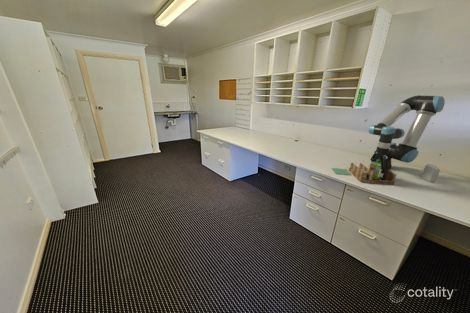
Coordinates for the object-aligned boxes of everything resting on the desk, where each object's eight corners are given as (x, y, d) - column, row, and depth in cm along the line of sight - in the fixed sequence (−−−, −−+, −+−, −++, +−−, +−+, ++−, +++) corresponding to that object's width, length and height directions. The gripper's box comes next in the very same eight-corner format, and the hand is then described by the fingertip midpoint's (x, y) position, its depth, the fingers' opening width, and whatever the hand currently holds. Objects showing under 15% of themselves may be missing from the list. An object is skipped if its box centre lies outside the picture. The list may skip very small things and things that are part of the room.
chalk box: (366, 176, 148) (371, 159, 143) (369, 173, 154) (374, 157, 149) (380, 180, 141) (385, 163, 136) (383, 177, 147) (388, 160, 142)
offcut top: (358, 172, 148) (359, 169, 147) (362, 172, 148) (363, 169, 147) (361, 175, 143) (362, 172, 142) (366, 176, 142) (367, 172, 141)
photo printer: (419, 176, 150) (425, 162, 146) (426, 177, 149) (431, 163, 145) (429, 182, 141) (435, 167, 137) (436, 183, 140) (442, 168, 136)
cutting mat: (331, 168, 164) (331, 168, 164) (345, 169, 162) (345, 169, 162) (336, 174, 153) (336, 173, 153) (351, 175, 151) (351, 174, 151)
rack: (348, 170, 160) (350, 162, 157) (377, 172, 157) (380, 164, 154) (360, 182, 140) (362, 172, 137) (393, 184, 136) (397, 175, 134)
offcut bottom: (357, 176, 150) (358, 172, 149) (361, 176, 149) (362, 172, 148) (361, 180, 143) (362, 176, 142) (365, 180, 143) (366, 176, 142)
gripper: (369, 142, 151) (363, 166, 158) (387, 152, 128) (379, 179, 136) (379, 143, 150) (372, 167, 157) (399, 152, 127) (390, 180, 135)
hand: (375, 173), depth 146 cm, fingers closed on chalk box, 12 cm apart
